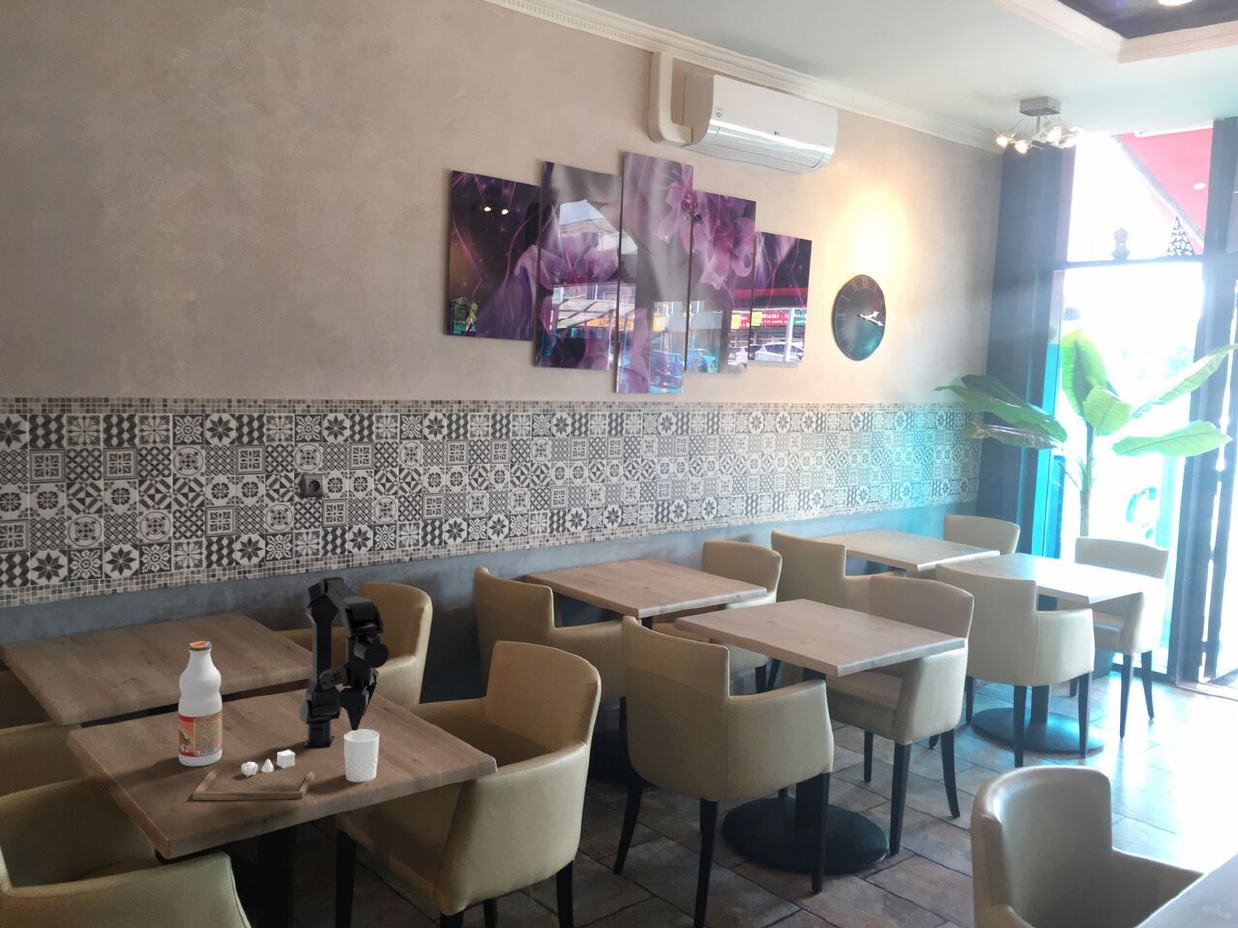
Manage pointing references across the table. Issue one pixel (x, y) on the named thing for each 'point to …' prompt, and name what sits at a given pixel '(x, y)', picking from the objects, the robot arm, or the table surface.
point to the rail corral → (234, 795)
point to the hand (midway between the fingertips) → (358, 722)
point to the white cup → (361, 754)
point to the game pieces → (283, 761)
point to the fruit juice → (200, 709)
